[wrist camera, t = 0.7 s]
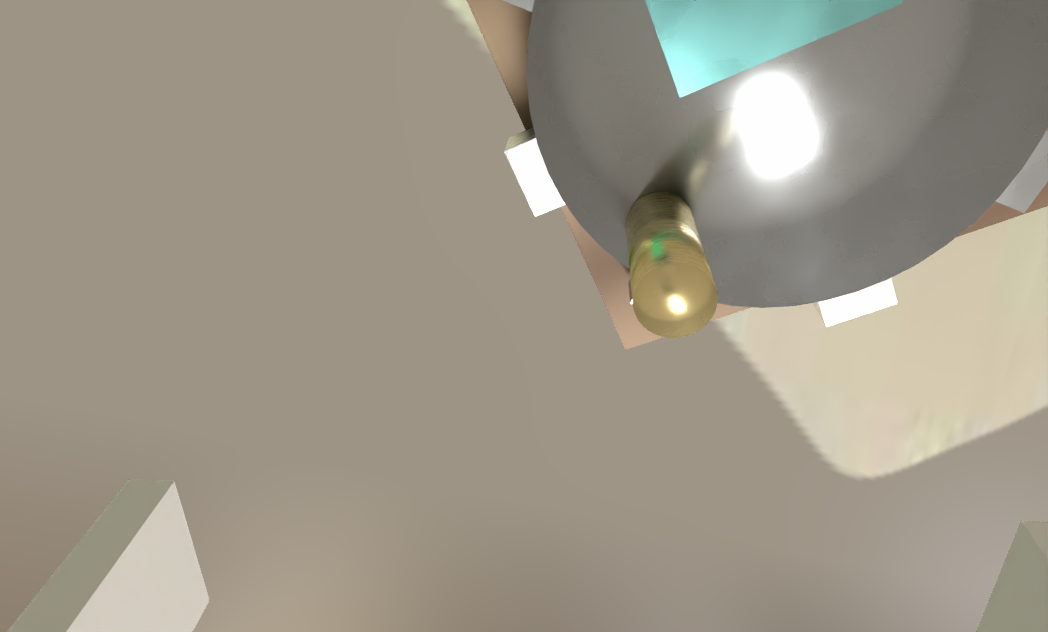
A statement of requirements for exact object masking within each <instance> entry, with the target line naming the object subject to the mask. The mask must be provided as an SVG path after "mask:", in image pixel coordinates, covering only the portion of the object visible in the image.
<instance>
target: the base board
mask: <svg viewBox="0 0 1048 632" xmlns="http://www.w3.org/2000/svg"><path fill="white" fill-rule="evenodd" d="M467 2H468V4H469V6H470V8H471V11H472V13H473V15H474V17H475V19H476V22H477V24H478V26H479V28H480V30H481V33H482V35H483V37H484V39H485V41H486V44H487V46H488V48H489V50H490V52H491V55H492V57H493V59H494V61H495V63H496V66H497V68H498V70H499V72H500V74H501V77H502V79H503V81H504V83H505V85H506V88H507V90H508V92H509V94H510V96H511V98H512V100H513V103H514V105H515V107H516V109H517V112H518V114H519V116H520V118H521V120H522V123H523V125H524V127H525V129H526V130H528V129H530V128H532V127H533V123H532V119H531V115H530V108H529V98H528V88H527V45H528V37H529V30H530V24H531V17H532V12H530V11H528V10H525V9H523V8H520V7H518V6H516V5H513V4H511V3H508V2H506V1H503V0H467ZM1047 129H1048V128H1047ZM1046 206H1048V182H1047V183H1046V185H1045V186H1044V187H1043V189H1042V190H1041V191H1040V193H1039V194H1038V195H1037V197H1036V198H1035V199H1034V201H1033V202H1032V203H1031V205H1030V206H1029V207H1028V209H1027V210H1026V211H1025V213H1028V212H1031V211H1034V210H1037V209H1040V208H1043V207H1046ZM561 208H562V211H563V213H564V215H565V217H566V220H567V222H568V224H569V226H570V228H571V231H572V233H573V235H574V237H575V239H576V242H577V244H578V246H579V248H580V250H581V253H582V255H583V257H584V259H585V262H586V264H587V266H588V268H589V270H590V272H591V275H592V277H593V279H594V281H595V283H596V286H597V288H598V290H599V292H600V295H601V297H602V299H603V301H604V303H605V305H606V308H607V310H608V312H609V314H610V317H611V319H612V321H613V323H614V325H615V328H616V329H617V332H618V334H619V336H620V339H621V341H622V343H623V345H624V347H625V350H627V349H630V348H633V347H635V346H639V345H642V344H644V343H647V342H650V341H653V340H656V339H659V338H662V336H659V335H656V334H654V333H652V332H650V331H648V330H647V329H646V328H644V327H643V326H642V325H641V323H640V322H639V321H638V319H637V317H636V315H635V312H634V308H633V304H632V303H630V296H629V285H628V282H629V280H630V271H629V268H628V267H626V266H624V265H623V264H622V263H620V262H619V261H618V260H617V259H615V258H614V257H613V256H612V255H610V254H609V253H608V252H607V251H606V250H604V249H603V248H602V247H601V246H600V245H599V244H598V243H597V242H596V241H595V240H594V239H593V238H592V237H591V236H590V235H589V234H588V233H587V232H586V231H585V229H584V228H583V227H582V226H581V225H580V224H579V222H578V221H577V220H576V218H575V217H574V216H573V214H572V213H571V211H570V210H569V209H568V207H567V206H566V204H565V205H563V206H561ZM1025 213H1023V212H1020V211H1018V210H1015V209H1013V208H1011V207H1008V206H1006V205H1003V204H1001V203H998V202H996V201H995V202H994V203H993V204H992V205H991V206H990V207H989V208H988V209H987V210H986V211H985V212H984V213H983V214H982V215H981V216H980V217H979V218H978V219H977V220H976V221H975V222H974V223H973V224H971V225H970V226H969V227H968V228H966V229H965V230H964V231H963V232H962V233H960V234H959V235H958V236H961V235H964V234H967V233H970V232H973V231H976V230H979V229H982V228H984V227H987V226H990V225H993V224H996V223H999V222H1002V221H1005V220H1008V219H1011V218H1014V217H1017V216H1020V215H1023V214H1025ZM958 236H957V237H958ZM747 308H750V307H743V306H730V305H724V304H719V303H717V308H716V311H715V313H714V315H713V317H712V318H711V320H710V321H712V320H715V319H718V318H721V317H724V316H727V315H730V314H733V313H735V312H738V311H741V310H744V309H747Z"/></svg>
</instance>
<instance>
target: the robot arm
mask: <svg viewBox="0 0 1048 632" xmlns="http://www.w3.org/2000/svg"><path fill="white" fill-rule="evenodd" d="M208 602H209V597H208V594H207V590H206V587H205V584H204V580H203V577H202V574H201V570H200V567H199V563H198V560H197V556H196V553H195V550H194V547H193V543H192V540H191V536H190V533H189V529H188V526H187V523H186V520H185V516H184V512H183V509H182V506H181V502H180V499H179V495H178V492H177V489H176V485H175V482H174V481H158V480H157V481H156V480H137V479H129V480H128V481H127V482H126V484H125V485H124V486H123V487H122V489H121V490H120V491H119V492H118V494H117V495H116V496H115V497H114V498H113V500H112V501H111V502H110V503H109V505H108V506H107V507H106V508H105V510H104V511H103V512H102V513H101V515H100V516H99V517H98V518H97V520H96V521H95V522H94V523H93V525H92V526H91V527H90V528H89V530H88V531H87V532H86V533H85V535H84V536H83V537H82V538H81V540H80V541H79V542H78V544H77V545H76V546H75V547H74V548H73V550H72V551H71V552H70V554H69V555H68V556H67V557H66V558H65V560H64V561H63V562H62V563H61V565H60V566H59V567H58V568H57V570H56V571H55V572H54V574H53V575H52V576H51V577H50V578H49V580H48V581H47V583H45V585H44V586H43V587H42V588H41V590H40V591H39V592H38V594H37V595H36V596H35V597H34V599H33V600H32V601H31V602H30V604H29V605H28V606H27V607H26V609H25V610H24V611H23V612H22V614H21V615H20V616H19V617H18V619H17V620H16V621H15V622H14V624H13V625H12V626H11V627H10V629H9V630H8V631H7V632H193V630H194V628H195V626H196V624H197V622H198V620H199V619H200V617H201V615H202V613H203V611H204V610H205V607H206V606H207V604H208ZM976 632H1048V522H1040V521H1039V522H1038V521H1021V522H1020V524H1019V527H1018V529H1017V532H1016V534H1015V537H1014V539H1013V542H1012V544H1011V547H1010V549H1009V551H1008V554H1007V557H1006V559H1005V561H1004V564H1003V566H1002V569H1001V571H1000V574H999V576H998V579H997V581H996V584H995V586H994V588H993V591H992V593H991V596H990V598H989V601H988V603H987V606H986V608H985V611H984V613H983V616H982V618H981V621H980V623H979V626H978V628H977V631H976Z"/></svg>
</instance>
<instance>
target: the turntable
mask: <svg viewBox="0 0 1048 632" xmlns="http://www.w3.org/2000/svg"><path fill="white" fill-rule="evenodd" d="M503 1H506V2H508V3H511V4H513V5H516V6H518V7H520V8H523V9H525V10H528V11H530V12H532V17H531V24H530V30H529V37H528V45H527V88H528V98H529V108H530V115H531V119H532V123H533V127H532V128H530V129H528V130H526V131H523V132H521V133H519V134H516V135H514V136H512V137H510V138H509V140H508V143H507V146H506V149H505V151H504V152H505V154H506V156H507V158H508V160H509V162H510V165H511V167H512V169H513V171H514V173H515V175H516V177H517V179H518V181H519V183H520V186H521V188H522V190H523V192H524V194H525V196H526V198H527V200H528V202H529V205H530V207H531V209H532V211H533V213H534V215H535V216H538V215H540V214H543V213H545V212H548V211H550V210H553V209H555V208H558V207H560V206H563V205H565V204H566V206H567V207H568V209H569V210H570V211H571V213H572V214H573V216H574V217H575V218H576V220H577V221H578V222H579V224H580V225H581V226H582V227H583V228H584V229H585V231H586V232H587V233H588V234H589V235H590V236H591V237H592V238H593V239H594V240H595V241H596V242H597V243H598V244H599V245H600V246H601V247H602V248H603V249H604V250H606V251H607V252H608V253H609V254H610V255H612V256H613V257H614V258H615V259H617V260H618V261H619V262H620V263H622V264H623V265H624V266H626V267H628V268H629V271H630V280H629V282H628V285H629V296H630V303H632V304H633V308H634V312H635V315H636V317H637V319H638V321H639V322H640V323H641V325H642V326H643V327H644V328H646V329H647V330H648V331H650V332H652V333H654V334H656V335H659V336H662V337H668V338H678V337H684V336H688V335H691V334H693V333H695V332H697V331H699V330H700V329H702V328H703V327H704V326H705V325H706V324H707V323H708V322H709V321H710V320H711V318H712V317H713V315H714V313H715V311H716V308H717V303H719V304H724V305H730V306H743V307H759V308H765V307H784V306H796V305H802V304H808V303H814V305H815V307H816V309H817V311H818V313H819V315H820V316H821V318H822V320H823V322H824V324H825V325H826V327H828V326H831V325H834V324H837V323H840V322H843V321H846V320H849V319H853V318H856V317H859V316H862V315H865V314H868V313H871V312H874V311H877V310H880V309H883V308H886V307H889V306H892V305H896V304H898V302H897V298H896V295H895V291H894V287H893V283H892V279H891V277H893V276H895V275H897V274H899V273H901V272H903V271H905V270H907V269H909V268H911V267H913V266H915V265H916V264H918V263H920V262H921V261H923V260H924V259H926V258H927V257H929V256H930V255H932V254H933V253H935V252H936V251H938V250H939V249H941V248H942V247H944V246H945V245H947V244H948V243H949V242H950V241H952V240H953V239H954V238H955V237H957V236H958V235H959V234H960V233H962V232H963V231H964V230H965V229H966V228H968V227H969V226H970V225H971V224H973V223H974V222H975V221H976V220H977V219H978V218H979V217H980V216H981V215H982V214H983V213H984V212H985V211H986V210H987V209H988V208H989V207H990V206H991V205H992V204H993V203H994V202H995V201H996V202H998V203H1001V204H1003V205H1006V206H1008V207H1011V208H1013V209H1015V210H1018V211H1020V212H1023V213H1025V211H1026V210H1027V209H1028V207H1029V206H1030V205H1031V203H1032V202H1033V201H1034V199H1035V198H1036V197H1037V195H1038V194H1039V193H1040V191H1041V190H1042V189H1043V187H1044V186H1045V185H1046V183H1047V182H1048V129H1047V128H1048V0H503Z"/></svg>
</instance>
